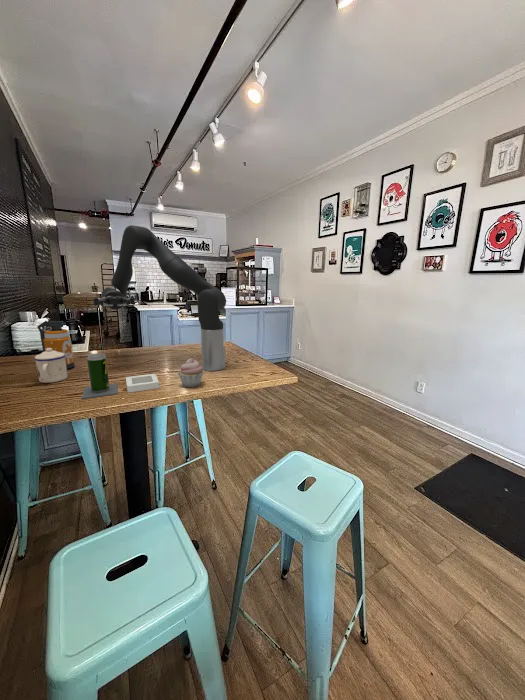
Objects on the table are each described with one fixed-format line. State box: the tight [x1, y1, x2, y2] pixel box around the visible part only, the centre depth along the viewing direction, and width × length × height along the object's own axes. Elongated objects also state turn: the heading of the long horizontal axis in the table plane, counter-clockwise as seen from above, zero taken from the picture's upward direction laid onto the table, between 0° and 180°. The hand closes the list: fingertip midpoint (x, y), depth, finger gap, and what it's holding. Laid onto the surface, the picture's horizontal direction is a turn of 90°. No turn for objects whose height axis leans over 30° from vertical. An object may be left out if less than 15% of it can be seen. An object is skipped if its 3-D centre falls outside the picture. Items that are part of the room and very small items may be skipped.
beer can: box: [86, 353, 110, 393], centre depth 93 cm, size 5×5×12 cm
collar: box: [125, 373, 160, 393], centre depth 100 cm, size 10×10×2 cm
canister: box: [36, 319, 75, 370], centre depth 115 cm, size 9×11×20 cm
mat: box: [81, 382, 118, 400], centre depth 94 cm, size 10×10×1 cm
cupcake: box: [177, 357, 205, 388], centre depth 101 cm, size 9×9×10 cm
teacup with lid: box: [34, 348, 68, 383], centre depth 102 cm, size 12×9×12 cm
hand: (115, 302), depth 105 cm, fingers open, 8 cm apart
